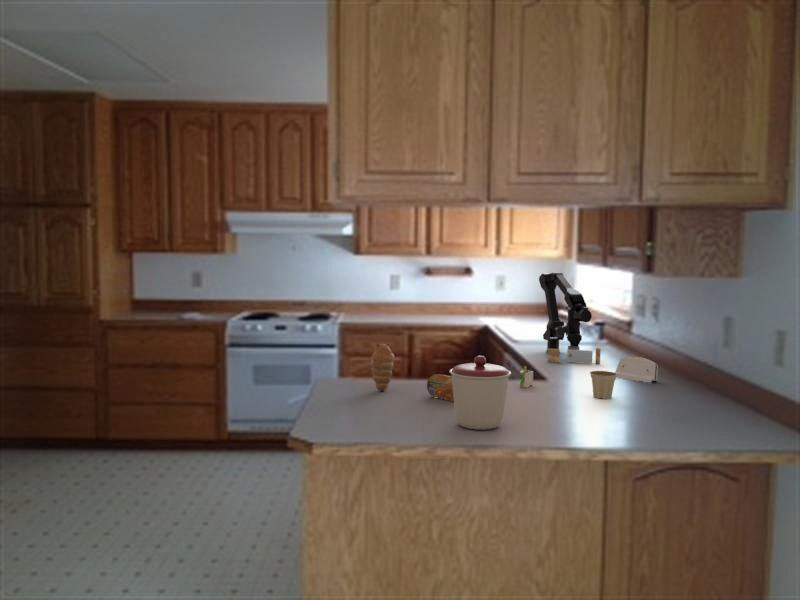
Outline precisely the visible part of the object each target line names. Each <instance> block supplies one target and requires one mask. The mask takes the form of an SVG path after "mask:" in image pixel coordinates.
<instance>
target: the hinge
mask: <svg viewBox="0 0 800 600" xmlns="http://www.w3.org/2000/svg"><path fill="white" fill-rule="evenodd" d="M658 367H659V366H658V364H657V363H656V362H654V361H652V360H650V359H648V358H644V357H640V356H625V357H621V358H620V359H619V361H618V364H617V366H616V369H615V372H614V373H617V376H616V377H618V378H617V379H621V378H622V380H627V379H629V381H633V380H635V381H634V382H639V381H643V382H642V383H646V382H651V383H652V382H654V381H658V369H659V368H658Z"/></svg>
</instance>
